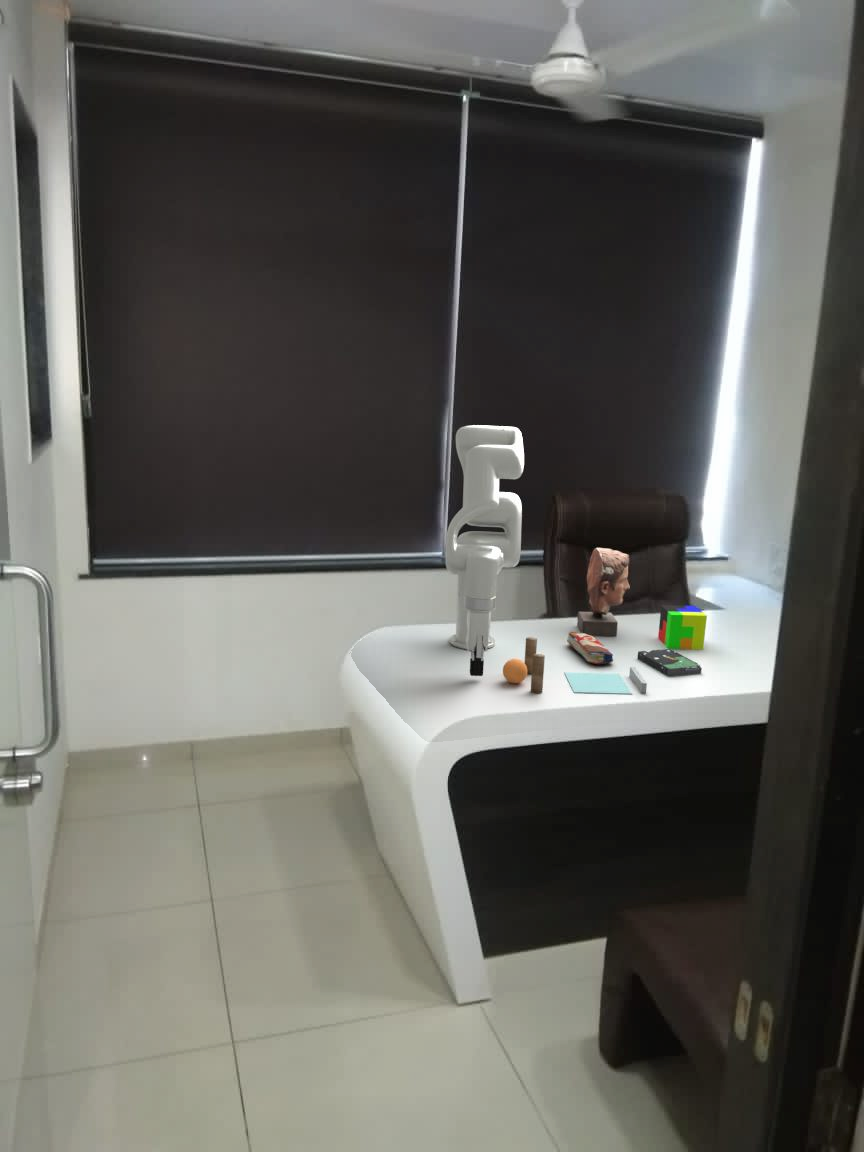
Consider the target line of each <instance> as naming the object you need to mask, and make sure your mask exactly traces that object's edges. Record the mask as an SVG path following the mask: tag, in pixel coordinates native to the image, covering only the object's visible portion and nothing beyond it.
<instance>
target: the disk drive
mask: <svg viewBox="0 0 864 1152" xmlns="http://www.w3.org/2000/svg"><path fill="white" fill-rule="evenodd" d="M637 660H638V661H641V663H644V664H646V665H647V666H649V667H651V668H653V669H654V670H656V671H657V672H660V673H661V674H663V675H664V676H666V677H668V678H669V677H678V676H689V675H691V676H692V675H699V674H702V669H703V668H702V667H701V664H699V663H698V662H695V661H694V660H691V659H690V658H688V657H686V656H684V655H682V654H680V653H679V652H676V651H675V650H674V649H668V648H665V649H664V648H663V649H652V650H650V651H646V650H640V651H639V650H638V651H637Z"/></svg>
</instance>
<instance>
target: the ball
mask: <svg viewBox="0 0 864 1152" xmlns="http://www.w3.org/2000/svg"><path fill="white" fill-rule="evenodd" d="M524 662H525V661H523V660H521V659H519V658H512V659H509V660H507V661H506V662H505V664H504V665H503V667H502V675H503V677H504V679H505V680H506V681H507V682H508V683H511V684H520V683H522V682H523V681H524V680H525V679H526V678H527V676H528V674H527V667H526V665H525V663H524Z"/></svg>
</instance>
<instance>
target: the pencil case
mask: <svg viewBox="0 0 864 1152" xmlns="http://www.w3.org/2000/svg"><path fill="white" fill-rule="evenodd" d="M566 642H567V643H568V644H569V645H570V646H571V647H572V649H573V648H574V650H576V651H577V653H578V654H580V655H581V657H583V659H585V660H586V662H588V663H592V664H594V665H604V664H609V663H613V661H614V658H613V656H614V655H613V653H611V652H610V650H609V649H608V648H607V647H606V646H605V645H604V644H602V643H601V642H600V641H599V640H598V639H597V638H595V637H594V636H591V635H588V634H584V633H581V632H576V631H570V632H568V637H567V639H566Z"/></svg>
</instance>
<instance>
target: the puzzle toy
mask: <svg viewBox="0 0 864 1152" xmlns="http://www.w3.org/2000/svg"><path fill="white" fill-rule="evenodd" d="M659 615H660V616H659V625H658V626H659V627H658V637H657V638H658V640H659V641H660V642H661V643H662V644H663V645H664V646H665V647H666V649H671V650H702V651H703V650H704V644H705V636H706V626H707V617H708V615H706V613H704V612H703V611H702V610H701V609H700V608H698V607H697V606H696V605H668V604H667V605H665V604H664V605H663V604H662V605H661V606H660V614H659Z"/></svg>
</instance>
